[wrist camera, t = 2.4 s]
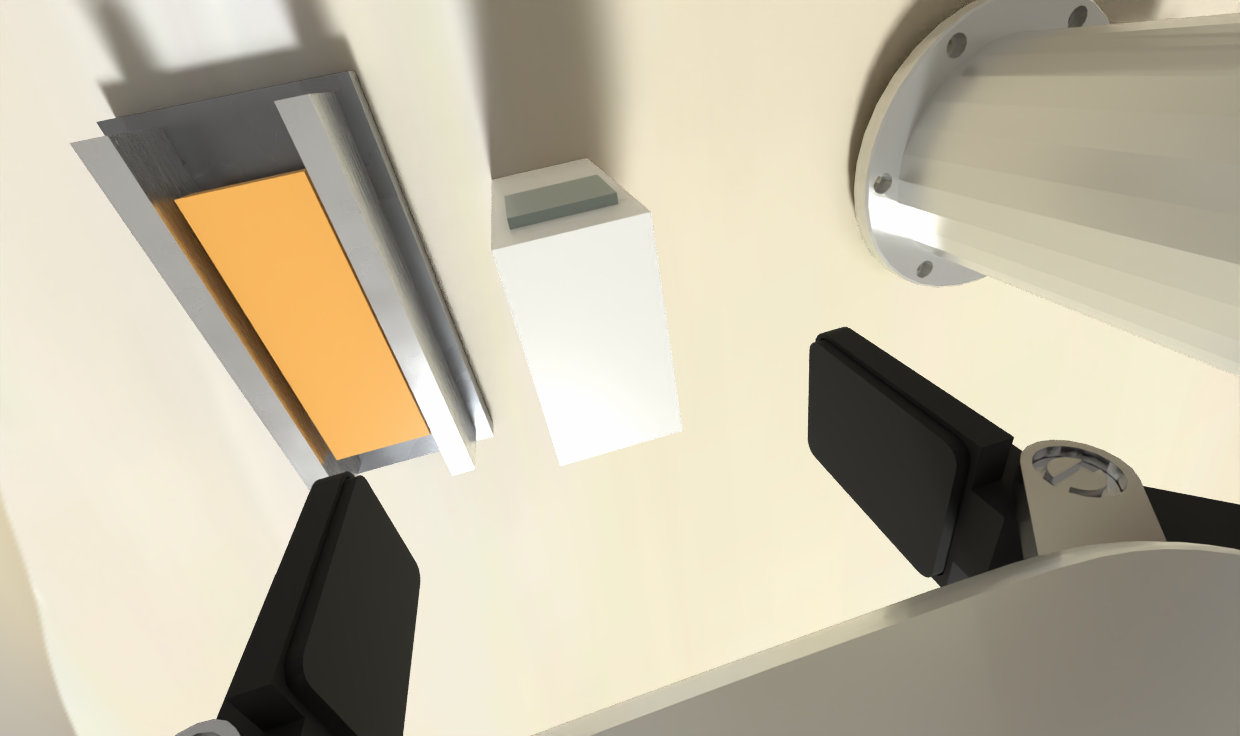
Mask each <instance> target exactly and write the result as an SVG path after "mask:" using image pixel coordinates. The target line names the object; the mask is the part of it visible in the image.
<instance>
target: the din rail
mask: <svg viewBox="0 0 1240 736" xmlns="http://www.w3.org/2000/svg"><path fill="white" fill-rule="evenodd" d="M97 124H98V125H99V127H100V128H101V130H102V131H103V133H104V135H105V136H103V137H98V138H93V139H88V140H83V141H79V142H74V143H70V144H71V146H72V147H73V149H74V150H75V152H76V153H77V155H78V156H79V157H80V159H81V160H82V162H83V163H84V165H85V166H86V168H87V169H88V170H89V172H90V173H91V175H92V176H93V178H94V179H95V181H96V182H97V183H98V185H99V186H100V188H101V189H102V191H103V192H104V194H105V195H106V196H107V198H108V199H109V201H110V202H111V204H112V205H113V207H114V208H115V209H116V211H117V212H118V214H119V215H120V217H121V218H122V220H123V221H124V223H125V224H126V225H127V227H128V228H129V230H130V231H131V233H132V234H133V236H134V237H135V238H136V240H137V241H138V243H139V244H140V246H141V247H142V249H143V250H144V251H145V253H146V254H147V256H148V257H149V259H150V260H151V262H152V263H153V264H154V266H155V267H156V269H157V270H158V272H159V273H160V275H161V276H162V277H163V279H164V280H165V282H166V283H167V285H168V286H169V288H170V289H171V290H172V292H173V293H174V295H175V296H176V298H177V299H178V301H179V302H180V304H181V305H182V306H183V308H184V309H185V311H186V312H187V314H188V315H189V317H190V318H191V319H192V321H193V322H194V324H195V325H196V327H197V328H198V330H199V331H200V332H201V334H202V335H203V337H204V338H205V340H206V341H207V343H208V344H209V345H210V347H211V348H212V350H213V351H214V353H215V354H216V356H217V357H218V358H219V360H220V361H221V363H222V364H223V366H224V367H225V369H226V370H227V372H228V373H229V374H230V376H231V377H232V379H233V380H234V382H235V383H236V385H237V386H238V387H239V389H240V390H241V392H242V393H243V395H244V396H245V398H246V399H247V400H248V402H249V403H250V405H251V406H252V408H253V409H254V411H255V412H256V413H257V415H258V416H259V418H260V419H261V421H262V422H263V424H264V425H265V426H266V428H267V429H268V431H269V432H270V434H271V435H272V437H273V438H274V440H275V441H276V442H277V444H278V445H279V447H280V448H281V450H282V451H283V453H284V454H285V455H286V457H287V458H288V460H289V461H290V463H291V464H292V466H293V467H294V468H295V470H296V471H297V473H298V474H299V476H300V477H301V479H302V480H303V481H304V483H305V484H306V486H307V487H308V489H309V490H311V487H312V485H313V483H314V482H315V481H316V480H318V479H322V478H325V477H329V476H332V475H336V474H339V473H343V472H346V471H348V472H351V473H352V474H354V476H355V477H356V476H358V473H362V472H365V471H369V470H373V469H376V468H380V467H383V466H387V465H391V464H394V463H398V462H401V461H405V460H409V459H412V458H416V457H419V456H423V455H427V454H430V453H434V452H437V451H441V453H442V455H443V457H444V459H445V461H446V463H447V465H448V467H449V469H450V472H451V474H452V475H455V474H459V473H462V472H466V471H470V470H473V469H475V448H476V441H477V440H481V439H484V438H488V437H491V436H493V423H492V420H491V418H490V415H489V412H488V410H487V407H486V405H485V402H484V400H483V397H482V395H481V392H480V389H479V387H478V384H477V382H476V379H475V377H474V374H473V372H472V369H471V366H470V364H469V361H468V359H467V356H466V354H465V351H464V349H463V346H462V344H461V341H460V338H459V336H458V333H457V331H456V328H455V326H454V323H453V321H452V318H451V315H450V313H449V310H448V308H447V305H446V303H445V300H444V298H443V295H442V292H441V290H440V287H439V285H438V282H437V280H436V277H435V275H434V272H433V270H432V267H431V264H430V262H429V259H428V257H427V254H426V252H425V249H424V247H423V244H422V241H421V239H420V236H419V234H418V231H417V229H416V226H415V224H414V221H413V218H412V216H411V213H410V211H409V208H408V206H407V203H406V201H405V198H404V195H403V193H402V190H401V188H400V185H399V183H398V180H397V178H396V175H395V173H394V170H393V167H392V165H391V162H390V160H389V157H388V155H387V152H386V150H385V147H384V144H383V142H382V139H381V137H380V134H379V132H378V129H377V127H376V124H375V121H374V119H373V116H372V114H371V111H370V109H369V106H368V104H367V101H366V98H365V96H364V93H363V91H362V88H361V86H360V83H359V81H358V78H357V76H356V73H355V71H345V72H340V73H335V74H330V75H325V76H320V77H315V78H310V79H306V80H301V81H296V82H291V83H286V84H281V85H276V86H271V87H266V88H261V89H256V90H252V91H247V92H242V93H237V94H232V95H227V96H222V97H217V98H212V99H207V100H202V101H198V102H193V103H188V104H183V105H178V106H173V107H168V108H163V109H158V110H153V111H148V112H144V113H139V114H134V115H129V116H124V117H119V118H114V119H109V120H104V121H99V122H97ZM301 169H306V170H307V172H308V174H309V176H310V178H311V180H312V182H313V184H314V186H315V188H316V191H317V193H318V195H319V197H320V199H321V201H322V203H323V205H324V207H325V209H326V212H327V214H328V216H329V218H330V220H331V222H332V224H333V226H334V228H335V230H336V232H337V235H338V237H339V239H340V241H341V243H342V245H343V247H344V249H345V251H346V253H347V256H348V258H349V260H350V262H351V264H352V266H353V268H354V270H355V272H356V274H357V277H358V279H359V281H360V283H361V285H362V287H363V289H364V291H365V293H366V295H367V297H368V300H369V302H370V304H371V306H372V308H373V310H374V312H375V314H376V316H377V318H378V321H379V323H380V325H381V327H382V329H383V331H384V333H385V335H386V337H387V339H388V342H389V344H390V346H391V348H392V350H393V352H394V354H395V356H396V358H397V360H398V362H399V365H400V367H401V369H402V371H403V373H404V375H405V377H406V379H407V381H408V383H409V386H410V388H411V390H412V392H413V394H414V396H415V398H416V400H417V402H418V404H419V407H420V409H421V411H422V413H423V415H424V417H425V419H426V421H427V423H428V425H429V427H430V430H431V434H430V435H427V436H423V437H420V438H416V439H412V440H409V441H405V442H402V443H398V444H394V445H391V446H387V447H383V448H380V449H376V450H372V451H369V452H365V453H361V454H358V455H354V456H350V457H347V458H343V459H339V460H336V458H335V457H334V455H333V453H332V452H331V450H330V449H329V447H328V445H327V444H326V442H325V441H324V439H323V437H322V436H321V434H320V433H319V431H318V429H317V428H316V426H315V425H314V423H313V421H312V420H311V418H310V417H309V415H308V413H307V412H306V410H305V409H304V407H303V405H302V404H301V402H300V401H299V399H298V397H297V396H296V394H295V393H294V391H293V389H292V388H291V386H290V385H289V383H288V381H287V380H286V378H285V377H284V375H283V373H282V372H281V370H280V369H279V367H278V365H277V364H276V362H275V361H274V359H273V357H272V356H271V354H270V353H269V351H268V349H267V348H266V346H265V345H264V343H263V341H262V340H261V338H260V337H259V335H258V333H257V332H256V330H255V329H254V327H253V325H252V324H251V322H250V321H249V319H248V317H247V316H246V314H245V313H244V311H243V309H242V308H241V306H240V305H239V303H238V301H237V300H236V298H235V297H234V295H233V293H232V292H231V290H230V289H229V287H228V285H227V284H226V282H225V281H224V279H223V277H222V276H221V274H220V273H219V271H218V269H217V268H216V266H215V265H214V263H213V261H212V260H211V258H210V257H209V255H208V253H207V252H206V250H205V249H204V247H203V245H202V244H201V242H200V241H199V239H198V237H197V236H196V234H195V233H194V231H193V229H192V228H191V226H190V225H189V223H188V221H187V220H186V218H185V217H184V215H183V213H182V212H181V210H180V209H179V207H178V205H177V204H176V202H175V201H174V200H176V199H178V198H181V197H183V196H186V195H189V194H192V193H196V192H201V191H206V190H210V189H215V188H219V187H224V186H228V185H233V184H237V183H242V182H247V181H251V180H256V179H260V178H265V177H269V176H274V175H278V174H283V173H288V172H292V171H297V170H301Z"/></svg>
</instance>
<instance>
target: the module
mask: <svg viewBox="0 0 1240 736" xmlns="http://www.w3.org/2000/svg"><path fill="white" fill-rule="evenodd" d="M491 251H492V254H493V257H494V260H495V263H496V266H497V270H498V273H499V276H500V279H501V282H502V285H503V288H504V291H505V294H506V298H507V301H508V304H509V307H510V310H511V313H512V316H513V319H514V322H515V326H516V329H517V332H518V335H519V338H520V341H521V344H522V347H523V351H524V354H525V357H526V360H527V363H528V366H529V369H530V372H531V375H532V379H533V382H534V385H535V388H536V391H537V394H538V397H539V400H540V403H541V407H542V410H543V413H544V416H545V419H546V422H547V425H548V428H549V431H550V435H551V438H552V441H553V444H554V447H555V450H556V453H557V456H558V459H559V463H560V466H562V465H565V464H569V463H572V462H576V461H579V460H583V459H586V458H590V457H593V456H597V455H600V454H604V453H607V452H611V451H614V450H618V449H621V448H625V447H628V446H632V445H635V444H639V443H642V442H646V441H649V440H653V439H656V438H660V437H663V436H667V435H670V434H673V433H677V432H680V431H683V429H682V422H681V415H680V408H679V401H678V394H677V388H676V381H675V374H674V367H673V360H672V353H671V346H670V339H669V332H668V326H667V319H666V312H665V305H664V298H663V291H662V284H661V277H660V270H659V263H658V257H657V250H656V243H655V236H654V229H653V222H652V215H651V211H649V210H648V209H647V208H646V207H645V206H644V205H642V204H641V203H640V202H639V201H638V200H636V199H635V198H634V197H633V196H632V195H630V194H629V193H628V192H627V191H626V190H625V189H623V188H622V187H621V186H620V185H619V184H617V183H616V182H615V181H614V180H613V179H611V178H610V177H609V176H608V175H607V174H606V173H604V172H603V171H602V170H601V169H600V168H598V167H597V166H596V165H595V164H594V163H592V162H591V161H590V160H589V159H588V158H584V159H580V160H575V161H571V162H566V163H562V164H558V165H553V166H549V167H545V168H540V169H536V170H532V171H527V172H523V173H519V174H514V175H510V176H505V177H501V178H497V179H492V215H491Z"/></svg>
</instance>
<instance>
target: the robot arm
mask: <svg viewBox="0 0 1240 736" xmlns="http://www.w3.org/2000/svg"><path fill="white" fill-rule="evenodd" d="M854 200H855V214H856V219H857V222H858V226H859V229H860V233H861V236H862V238H863V240H864V242H865V244H866V246H867V247H868V249H869V251H870V253H871V254H872V256H873V257H874V258H875V259H876V260H877V261H878V262H879V263H880V264H881V265H882V266H883V267H884V268H886V269H887V270H889V271H891V272H892V273H894V274H896V275H898V276H899V277H901V278H904V279H906V280H908V281H910V282H912V283H915V284H918V285H924V286H931V287H949V286H958V285H962V284H966V283H969V282H973V281H977V280H979V279H982V278H984V277H986V276H988V277H991V278H993V279H996V280H998V281H1001V282H1003V283H1006V284H1008V285H1011V286H1013V287H1016V288H1018V289H1021V290H1023V291H1026V292H1028V293H1031V294H1033V295H1036V296H1038V297H1041V298H1043V299H1046V300H1048V301H1051V302H1053V303H1056V304H1058V305H1061V306H1063V307H1066V308H1068V309H1071V310H1073V311H1076V312H1078V313H1081V314H1083V315H1086V316H1088V317H1091V318H1093V319H1096V320H1098V321H1101V322H1103V323H1106V324H1108V325H1111V326H1113V327H1116V328H1118V329H1121V330H1123V331H1126V332H1128V333H1131V334H1133V335H1135V336H1138V337H1140V338H1143V339H1145V340H1148V341H1150V342H1153V343H1155V344H1158V345H1160V346H1163V347H1165V348H1168V349H1170V350H1173V351H1175V352H1178V353H1180V354H1183V355H1185V356H1188V357H1190V358H1193V359H1195V360H1198V361H1200V362H1203V363H1205V364H1208V365H1210V366H1213V367H1215V368H1218V369H1220V370H1223V371H1225V372H1228V373H1230V374H1233V375H1235V376H1238V377H1240V13H1233V14H1222V15H1210V16H1199V17H1187V18H1176V19H1165V20H1153V21H1142V22H1130V23H1119V24H1110V22H1109V19H1108V17H1107V16H1106V15H1105V13H1104V12H1103V11H1102V10H1101V9H1100V7H1099V6H1098V5H1097V4H1096V3H1095V1H1094V0H976V1H974V2H972V3H970V4H967V5H966V6H964V7H963V8H961V9H960V10H959V11H957V12H956V13H954V14H953V15H951V16H950V17H949V18H947V19H946V20H944V21H943V22H941V23H940V24H939V25H938V26H937V27H936V28H935V29H934V30H933V31H932V32H931V33H930V34H929V35H928V36H926V37H925V38H924V39H923V40H922V41H921V42H920V43H919V44H918V45H917V46H916V47H915V48H914V50H913V51H912V52H911V53H910V55H909V56H908V57H907V59H906V60H905V61H904V62H903V64H902V65H901V66H900V67H899V69H898V70H897V71H896V73H895V74H894V75H893V77H892V79H891V81H890V82H889V84H888V86H887V87H886V89H885V91H884V93H883V94H882V96H881V98H880V99H879V101H878V103H877V105H876V107H875V110H874V112H873V114H872V117H871V119H870V121H869V124H868V126H867V129H866V131H865V133H864V137H863V141H862V145H861V149H860V152H859V156H858V160H857V165H856V175H855V184H854ZM1013 439H1014V437H1013V436H1012V435H1010V434H1009V433H1007V432H1005V431H1004V430H1002V429H1001V428H999V427H998V426H996V425H995V424H993V423H992V422H990V421H989V420H987V419H986V418H984V417H983V416H981V415H980V414H978V413H977V412H975V411H974V410H972V409H971V408H969V407H968V406H966V405H965V404H963V403H962V402H960V401H959V400H957V399H956V398H954V397H953V396H951V395H950V394H948V393H947V392H945V391H944V390H942V389H941V388H939V387H938V386H936V385H935V384H933V383H932V382H930V381H929V380H927V379H926V378H924V377H923V376H921V375H919V374H918V373H916V372H915V371H913V370H912V369H910V368H909V367H907V366H906V365H904V364H903V363H901V362H900V361H898V360H897V359H895V358H894V357H892V356H891V355H889V354H888V353H886V352H885V351H883V350H882V349H880V348H879V347H877V346H876V345H874V344H873V343H871V342H870V341H868V340H867V339H865V338H864V337H862V336H861V335H859V334H858V333H856V332H855V331H853V330H852V329H850V328H848V327H842V328H838V329H835V330H831V331H828V332H824V333H821V334H819V335H818V336H817V338H816V341H815V342H814V343H812V344H811V346H810V353H809V404H808V444H809V447H810V450H811V452H812V454H813V455H814V456H815V458H816V459H817V460H818V461H819V462H820V463H821V464H822V465H823V466H824V468H825V469H826V470H827V471H828V472H829V473H830V474H831V475H832V476H833V478H834V479H835V480H836V481H837V482H838V483H839V484H840V485H841V486H842V488H843V489H844V490H845V491H846V492H847V493H848V494H849V495H850V496H851V498H852V499H853V500H854V501H855V502H856V503H857V504H858V505H859V506H860V508H861V509H862V510H863V511H864V512H865V513H866V514H867V515H868V516H869V518H870V519H871V520H872V521H873V522H874V523H875V524H876V525H877V526H878V528H879V529H880V530H881V531H882V532H883V533H884V534H885V535H886V536H887V538H888V539H889V540H890V541H891V542H892V543H893V544H894V545H895V546H896V548H897V549H898V550H899V551H900V552H901V553H902V554H903V555H904V556H905V558H906V559H907V560H908V561H909V562H910V563H911V564H912V565H913V566H914V568H915V569H916V570H917V571H918V572H919V573H920V574H921V575H923V576H925V577H928V578H929V577H932V578H933V579H934V580H935V581H936V582H937V584H938V585H939V586H940V588H937V589H934V590H931V591H928V592H926V593H923V594H920V595H917V596H914V597H912V598H909V599H906V600H903V601H900V602H898V603H895V604H892V605H889V606H886V607H884V608H881V609H878V610H875V611H872V612H870V613H867V614H864V615H861V616H858V617H856V618H853V619H850V620H847V621H844V622H842V623H839V624H836V625H833V626H830V627H828V628H825V629H822V630H819V631H816V632H814V633H811V634H808V635H805V636H802V637H800V638H797V639H794V640H791V641H789V642H786V643H783V644H780V645H778V646H775V647H772V648H769V649H767V650H764V651H761V652H758V653H756V654H753V655H750V656H747V657H744V658H742V659H739V660H736V661H733V662H731V663H728V664H725V665H722V666H720V667H717V668H714V669H711V670H709V671H706V672H703V673H700V674H698V675H695V676H692V677H689V678H687V679H684V680H681V681H678V682H676V683H673V684H670V685H667V686H665V687H662V688H659V689H657V690H654V691H651V692H648V693H646V694H643V695H640V696H637V697H635V698H632V699H629V700H626V701H624V702H621V703H618V704H615V705H613V706H610V707H607V708H605V709H602V710H599V711H596V712H594V713H591V714H588V715H586V716H583V717H580V718H578V719H575V720H572V721H569V722H567V723H564V724H561V725H559V726H556V727H553V728H550V729H548V730H545V731H542V732H540V733H537V734H534V735H532V736H1240V505H1239V504H1234V503H1228V502H1223V501H1218V500H1213V499H1208V498H1202V497H1197V496H1192V495H1187V494H1182V493H1176V492H1171V491H1166V490H1161V489H1156V488H1150V487H1145V486H1143V485H1142V483H1141V480H1140V479H1139V477H1138V476H1137V474H1136V473H1135V472H1134V470H1133V469H1132V468H1131V467H1130V466H1128V465H1127V464H1126V463H1125V462H1123V461H1122V460H1121V459H1119V458H1117V457H1116V456H1114V455H1112V454H1110V453H1108V452H1106V451H1104V450H1101V449H1098V448H1096V447H1093V446H1090V445H1087V444H1083V443H1078V442H1073V441H1065V440H1047V441H1040V442H1036V443H1034V444H1031V445H1029V446H1027V447H1026V448H1025V449H1024V450H1023V451H1021V450H1020V449H1018V448H1017V447H1016V446H1014V445H1013V444H1012V442H1013ZM419 589H420V573H419V568H418V566H417V563H416V562H415V560H414V558H413V557H412V555H411V553H410V552H409V550H408V548H407V547H406V545H405V543H404V542H403V540H402V538H401V537H400V535H399V533H398V532H397V530H396V528H395V527H394V525H393V523H392V522H391V520H390V518H389V517H388V515H387V513H386V512H385V510H384V508H383V507H382V505H381V503H380V502H379V500H378V498H377V497H376V495H375V493H374V492H373V490H372V488H371V487H370V485H369V483H368V482H367V480H366V479H365V477H363V476H361V475H359V476H356V477H355V476H354V474H352V473H351V472H348V471H346V472H343V473H339V474H336V475H332V476H329V477H325V478H322V479H318V480H316V481H315V482H314V483H313V485H312V487H311V490H310V492H309V495H308V497H307V500H306V502H305V504H304V507H303V509H302V512H301V514H300V517H299V519H298V522H297V524H296V527H295V529H294V531H293V534H292V536H291V539H290V541H289V544H288V546H287V549H286V551H285V553H284V556H283V558H282V561H281V563H280V566H279V568H278V571H277V573H276V575H275V577H274V579H273V582H272V584H271V587H270V589H269V592H268V594H267V597H266V599H265V601H264V604H263V606H262V609H261V611H260V614H259V616H258V619H257V621H256V623H255V626H254V628H253V631H252V633H251V636H250V638H249V641H248V643H247V645H246V648H245V650H244V653H243V655H242V658H241V660H240V663H239V665H238V667H237V670H236V672H235V675H234V677H233V680H232V682H231V685H230V687H229V689H228V692H227V694H226V697H225V699H224V702H223V704H222V707H221V709H220V711H219V714H218V716H217V719H212V720H209V721H205V722H201V723H197V724H195V725H193V726H191V727H189V728H187V729H186V730H184V731H182V732H180V733H178V734H177V735H175V736H403V730H404V721H405V712H406V703H407V695H408V686H409V677H410V668H411V659H412V651H413V642H414V633H415V624H416V615H417V607H418V598H419Z"/></svg>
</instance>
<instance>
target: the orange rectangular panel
mask: <svg viewBox="0 0 1240 736" xmlns="http://www.w3.org/2000/svg"><path fill="white" fill-rule="evenodd" d="M174 201H175V202H176V204H177V205H178V207H179V209H180V210H181V212H182V213H183V215H184V217H185V218H186V220H187V221H188V223H189V225H190V226H191V228H192V229H193V231H194V233H195V234H196V236H197V237H198V239H199V241H200V242H201V244H202V245H203V247H204V249H205V250H206V252H207V253H208V255H209V257H210V258H211V260H212V261H213V263H214V265H215V266H216V268H217V269H218V271H219V273H220V274H221V276H222V277H223V279H224V281H225V282H226V284H227V285H228V287H229V289H230V290H231V292H232V293H233V295H234V297H235V298H236V300H237V301H238V303H239V305H240V306H241V308H242V309H243V311H244V313H245V314H246V316H247V317H248V319H249V321H250V322H251V324H252V325H253V327H254V329H255V330H256V332H257V333H258V335H259V337H260V338H261V340H262V341H263V343H264V345H265V346H266V348H267V349H268V351H269V353H270V354H271V356H272V357H273V359H274V361H275V362H276V364H277V365H278V367H279V369H280V370H281V372H282V373H283V375H284V377H285V378H286V380H287V381H288V383H289V385H290V386H291V388H292V389H293V391H294V393H295V394H296V396H297V397H298V399H299V401H300V402H301V404H302V405H303V407H304V409H305V410H306V412H307V413H308V415H309V417H310V418H311V420H312V421H313V423H314V425H315V426H316V428H317V429H318V431H319V433H320V434H321V436H322V437H323V439H324V441H325V442H326V444H327V445H328V447H329V449H330V450H331V452H332V453H333V455H334V457H335V458H336V460H339V459H343V458H347V457H350V456H354V455H358V454H361V453H365V452H369V451H372V450H376V449H380V448H383V447H387V446H391V445H394V444H398V443H402V442H405V441H409V440H412V439H416V438H420V437H423V436H427V435H430V434H431V430H430V427H429V425H428V423H427V421H426V419H425V417H424V415H423V413H422V411H421V409H420V407H419V404H418V402H417V400H416V398H415V396H414V394H413V392H412V390H411V388H410V386H409V383H408V381H407V379H406V377H405V375H404V373H403V371H402V369H401V367H400V365H399V362H398V360H397V358H396V356H395V354H394V352H393V350H392V348H391V346H390V344H389V342H388V339H387V337H386V335H385V333H384V331H383V329H382V327H381V325H380V323H379V321H378V318H377V316H376V314H375V312H374V310H373V308H372V306H371V304H370V302H369V300H368V297H367V295H366V293H365V291H364V289H363V287H362V285H361V283H360V281H359V279H358V277H357V274H356V272H355V270H354V268H353V266H352V264H351V262H350V260H349V258H348V256H347V253H346V251H345V249H344V247H343V245H342V243H341V241H340V239H339V237H338V235H337V232H336V230H335V228H334V226H333V224H332V222H331V220H330V218H329V216H328V214H327V212H326V209H325V207H324V205H323V203H322V201H321V199H320V197H319V195H318V193H317V191H316V188H315V186H314V184H313V182H312V180H311V178H310V176H309V174H308V172H307V170H306V169H301V170H297V171H292V172H288V173H283V174H278V175H274V176H269V177H265V178H260V179H256V180H251V181H247V182H242V183H237V184H233V185H228V186H224V187H219V188H215V189H210V190H206V191H201V192H196V193H192V194H189V195H186V196H183V197H181V198H178V199H176V200H174Z"/></svg>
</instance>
